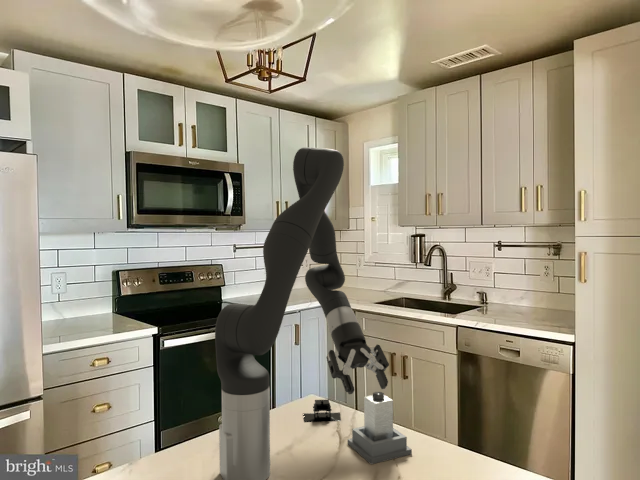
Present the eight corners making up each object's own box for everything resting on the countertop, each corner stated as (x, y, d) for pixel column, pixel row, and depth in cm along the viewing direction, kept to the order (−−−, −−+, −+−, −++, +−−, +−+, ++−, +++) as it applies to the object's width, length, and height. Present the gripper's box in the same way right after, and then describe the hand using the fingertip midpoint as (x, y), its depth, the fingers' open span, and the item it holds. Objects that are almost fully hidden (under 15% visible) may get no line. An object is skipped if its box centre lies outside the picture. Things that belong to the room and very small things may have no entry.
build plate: (297, 426, 113) (297, 407, 113) (297, 414, 121) (297, 396, 121) (348, 424, 114) (348, 406, 114) (344, 412, 121) (344, 395, 121)
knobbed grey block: (375, 450, 97) (374, 398, 97) (364, 441, 102) (364, 391, 101) (393, 446, 99) (392, 395, 99) (381, 437, 103) (381, 389, 103)
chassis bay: (371, 464, 94) (371, 447, 94) (347, 443, 103) (347, 428, 103) (411, 453, 98) (411, 437, 98) (385, 435, 107) (385, 420, 107)
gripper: (323, 323, 109) (346, 386, 98) (375, 318, 115) (401, 377, 104) (314, 340, 114) (335, 402, 103) (364, 335, 120) (389, 393, 109)
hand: (368, 389), depth 104 cm, fingers open, 8 cm apart
